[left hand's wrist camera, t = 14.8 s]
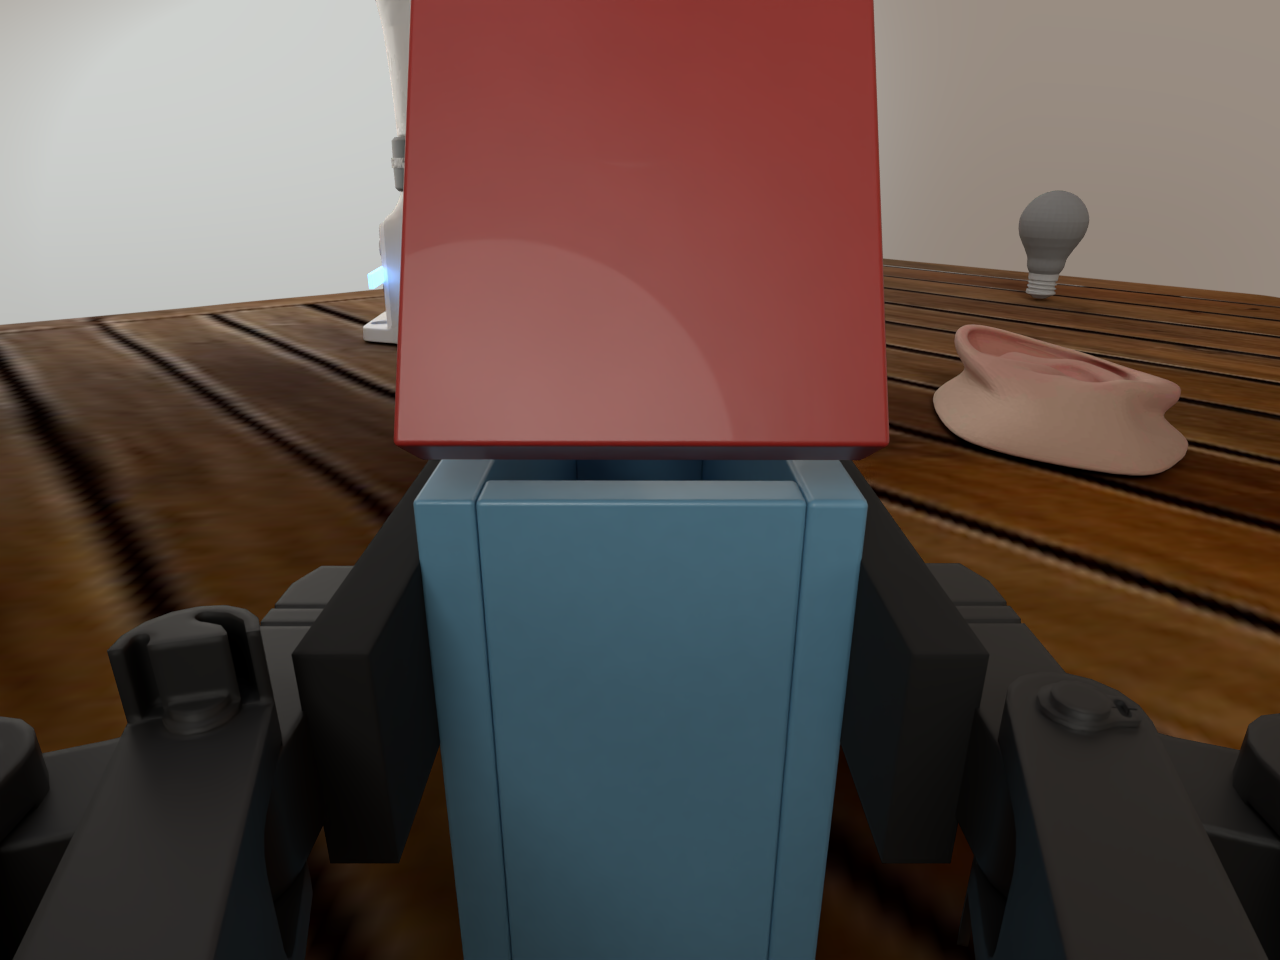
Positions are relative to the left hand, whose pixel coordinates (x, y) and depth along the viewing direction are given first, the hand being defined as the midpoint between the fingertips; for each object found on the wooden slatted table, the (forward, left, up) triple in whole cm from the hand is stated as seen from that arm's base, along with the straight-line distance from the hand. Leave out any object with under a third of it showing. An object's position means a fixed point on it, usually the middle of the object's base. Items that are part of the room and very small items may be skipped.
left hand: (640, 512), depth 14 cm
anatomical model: (-5, +33, -7) cm, 34 cm away
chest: (-2, +2, -7) cm, 8 cm away
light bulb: (-22, +75, -7) cm, 79 cm away
